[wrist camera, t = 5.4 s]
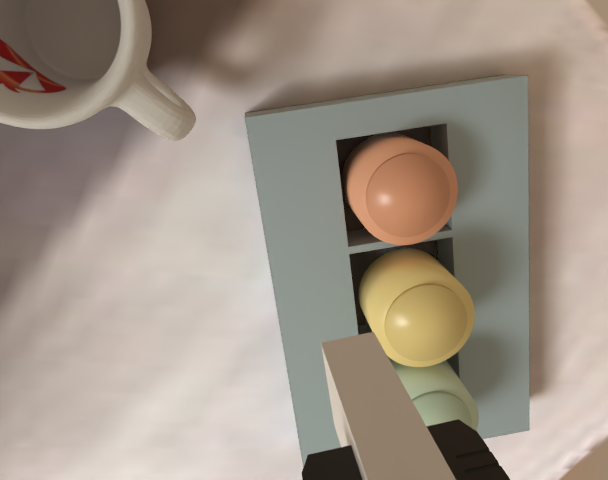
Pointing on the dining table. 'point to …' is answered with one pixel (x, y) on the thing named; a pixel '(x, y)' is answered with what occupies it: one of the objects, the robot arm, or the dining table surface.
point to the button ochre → (415, 307)
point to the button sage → (438, 394)
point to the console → (450, 240)
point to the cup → (82, 66)
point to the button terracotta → (399, 188)
